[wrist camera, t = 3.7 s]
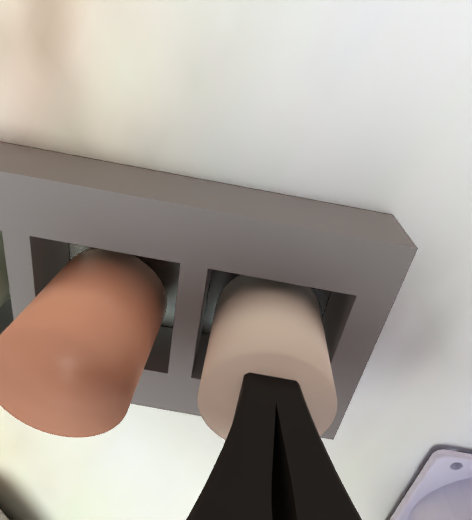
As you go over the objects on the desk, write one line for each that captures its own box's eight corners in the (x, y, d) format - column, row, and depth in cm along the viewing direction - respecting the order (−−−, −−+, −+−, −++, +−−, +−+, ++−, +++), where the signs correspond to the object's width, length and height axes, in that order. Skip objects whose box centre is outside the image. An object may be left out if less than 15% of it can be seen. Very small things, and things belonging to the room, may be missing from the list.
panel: (393, 215, 13) (417, 248, 11) (325, 389, 17) (333, 439, 14) (-133, 117, 12) (-214, 131, 10) (-78, 317, 16) (-129, 357, 14)
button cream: (332, 279, 13) (355, 367, 9) (305, 361, 15) (316, 460, 11) (224, 260, 13) (207, 340, 9) (209, 344, 15) (190, 438, 11)
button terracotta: (171, 259, 12) (132, 345, 9) (163, 347, 14) (126, 447, 10) (57, 238, 12) (-29, 316, 9) (62, 328, 14) (-8, 423, 10)
